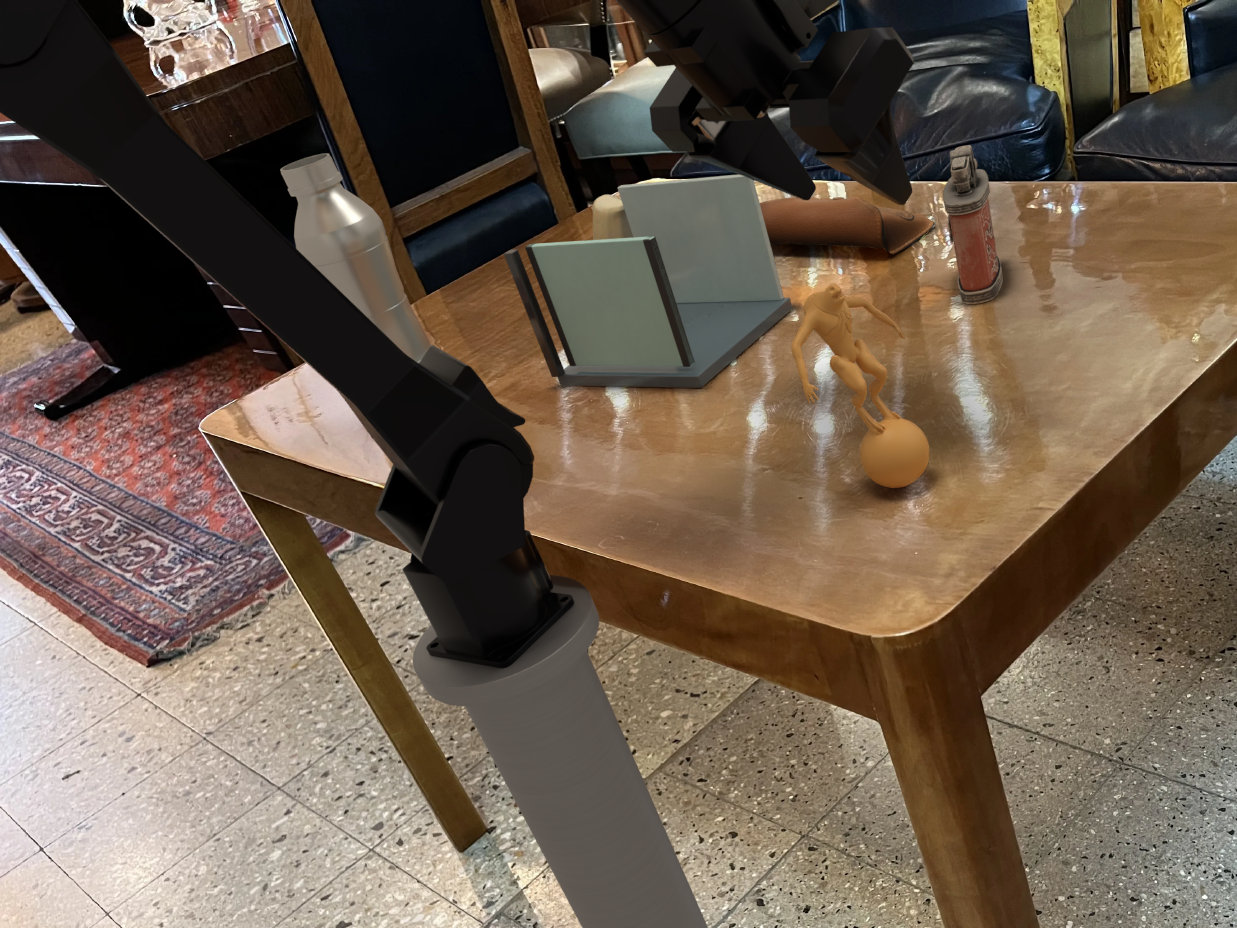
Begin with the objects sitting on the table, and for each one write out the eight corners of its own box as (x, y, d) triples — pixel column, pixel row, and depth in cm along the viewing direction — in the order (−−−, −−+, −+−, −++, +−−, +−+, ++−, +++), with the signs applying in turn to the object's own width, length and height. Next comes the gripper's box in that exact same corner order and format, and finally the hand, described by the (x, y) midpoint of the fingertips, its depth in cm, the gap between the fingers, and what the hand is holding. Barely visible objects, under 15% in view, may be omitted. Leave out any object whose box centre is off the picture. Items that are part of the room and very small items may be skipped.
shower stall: (697, 391, 87) (651, 245, 81) (556, 388, 94) (503, 253, 88) (793, 308, 97) (758, 171, 90) (658, 311, 104) (617, 184, 97)
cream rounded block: (674, 272, 112) (647, 187, 107) (647, 295, 108) (618, 207, 103) (624, 277, 114) (596, 193, 109) (596, 299, 110) (566, 213, 106)
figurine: (883, 525, 66) (835, 321, 59) (805, 506, 69) (751, 313, 63) (969, 453, 70) (933, 256, 63) (891, 439, 74) (849, 252, 67)
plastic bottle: (365, 433, 95) (239, 182, 84) (417, 394, 100) (305, 152, 89) (426, 432, 93) (303, 172, 81) (476, 391, 97) (368, 141, 86)
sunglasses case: (941, 217, 105) (907, 164, 100) (911, 283, 104) (874, 234, 99) (791, 216, 116) (753, 169, 111) (761, 276, 115) (721, 231, 109)
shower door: (689, 367, 88) (648, 239, 82) (569, 366, 93) (524, 247, 88) (695, 362, 88) (655, 235, 83) (576, 361, 94) (531, 243, 88)
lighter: (962, 268, 95) (940, 140, 90) (1004, 260, 95) (985, 131, 89) (956, 306, 89) (932, 172, 83) (1001, 299, 88) (980, 162, 83)
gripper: (877, -166, 56) (1036, 83, 66) (671, -104, 69) (830, 95, 80) (753, 24, 55) (935, 246, 65) (568, 49, 68) (744, 230, 79)
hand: (856, 196), depth 72 cm, fingers open, 9 cm apart
